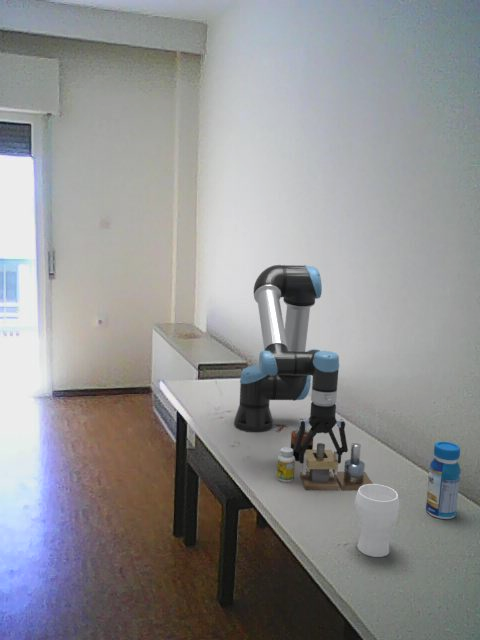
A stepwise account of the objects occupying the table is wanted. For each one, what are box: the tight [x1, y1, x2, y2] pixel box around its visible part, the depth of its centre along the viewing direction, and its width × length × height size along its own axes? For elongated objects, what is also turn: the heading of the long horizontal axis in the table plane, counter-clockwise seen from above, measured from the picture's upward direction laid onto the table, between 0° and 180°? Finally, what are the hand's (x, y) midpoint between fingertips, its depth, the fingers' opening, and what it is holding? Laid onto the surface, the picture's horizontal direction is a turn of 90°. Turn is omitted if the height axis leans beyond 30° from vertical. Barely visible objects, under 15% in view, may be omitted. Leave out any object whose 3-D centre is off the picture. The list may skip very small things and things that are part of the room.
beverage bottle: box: [425, 441, 462, 520], centre depth 166 cm, size 8×8×20 cm
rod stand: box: [299, 442, 340, 491], centre depth 182 cm, size 10×10×12 cm
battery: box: [290, 428, 314, 462], centre depth 201 cm, size 4×7×10 cm, turn 97°
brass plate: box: [305, 449, 339, 470], centre depth 182 cm, size 9×9×2 cm
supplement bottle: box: [276, 446, 296, 483], centre depth 185 cm, size 5×5×10 cm
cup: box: [354, 483, 400, 558], centre depth 146 cm, size 11×11×15 cm
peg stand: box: [333, 442, 374, 491], centre depth 183 cm, size 10×10×12 cm
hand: (319, 472), depth 183 cm, fingers closed on brass plate, 9 cm apart
